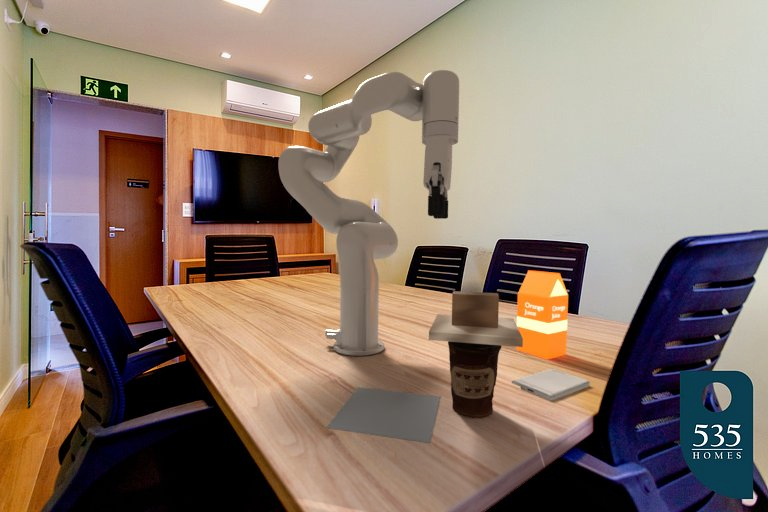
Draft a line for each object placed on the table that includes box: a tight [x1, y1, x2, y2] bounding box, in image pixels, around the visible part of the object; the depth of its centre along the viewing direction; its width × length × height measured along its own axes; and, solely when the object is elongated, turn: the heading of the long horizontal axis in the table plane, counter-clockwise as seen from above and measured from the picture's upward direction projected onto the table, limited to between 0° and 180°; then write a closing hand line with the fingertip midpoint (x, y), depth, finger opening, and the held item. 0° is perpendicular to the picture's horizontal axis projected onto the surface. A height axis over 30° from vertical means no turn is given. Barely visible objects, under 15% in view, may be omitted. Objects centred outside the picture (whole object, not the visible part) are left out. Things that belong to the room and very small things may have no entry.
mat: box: [325, 386, 441, 444], centre depth 59 cm, size 15×15×1 cm
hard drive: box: [511, 368, 591, 402], centre depth 70 cm, size 2×8×12 cm
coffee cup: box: [447, 341, 503, 420], centre depth 59 cm, size 9×8×13 cm
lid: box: [428, 290, 523, 348], centre depth 59 cm, size 13×13×6 cm
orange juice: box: [515, 269, 569, 360], centre depth 91 cm, size 8×9×20 cm
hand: (438, 217), depth 78 cm, fingers open, 9 cm apart
